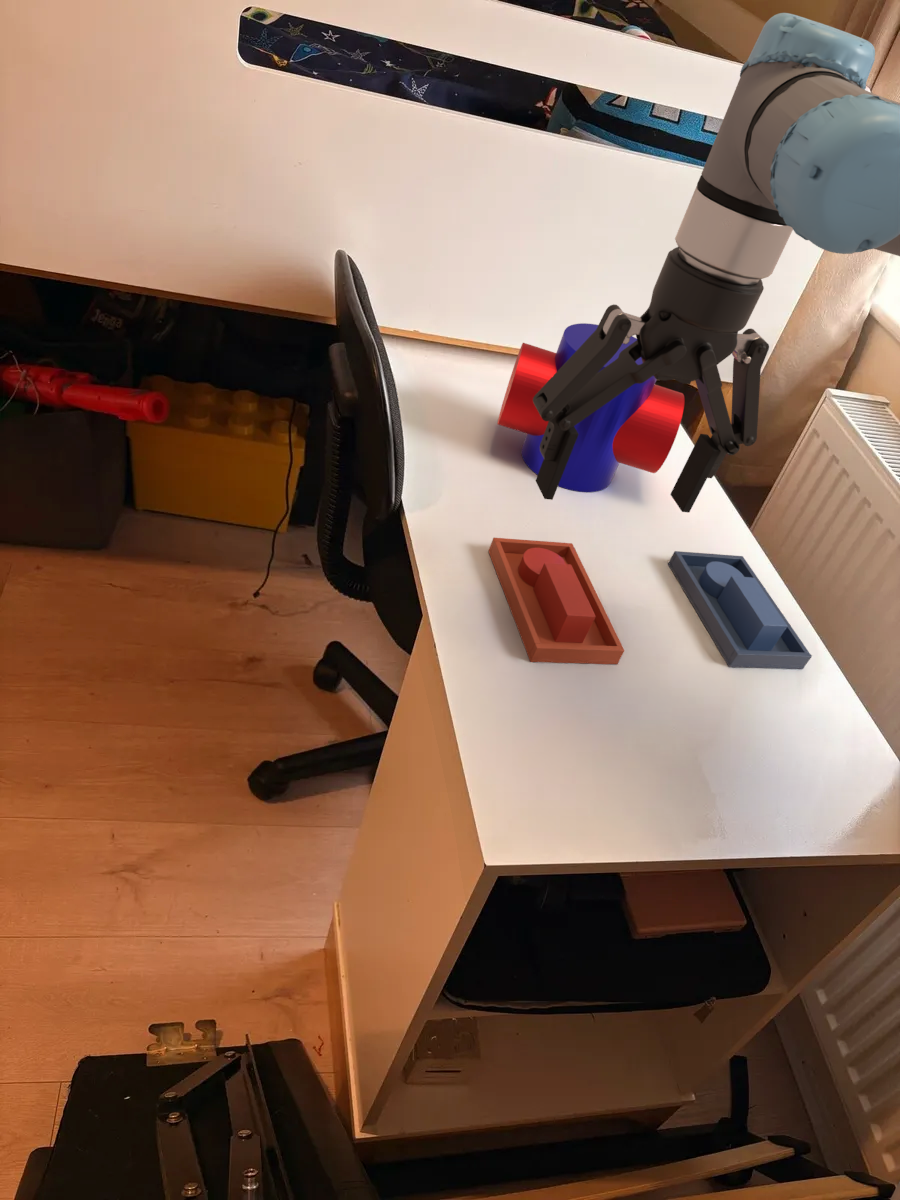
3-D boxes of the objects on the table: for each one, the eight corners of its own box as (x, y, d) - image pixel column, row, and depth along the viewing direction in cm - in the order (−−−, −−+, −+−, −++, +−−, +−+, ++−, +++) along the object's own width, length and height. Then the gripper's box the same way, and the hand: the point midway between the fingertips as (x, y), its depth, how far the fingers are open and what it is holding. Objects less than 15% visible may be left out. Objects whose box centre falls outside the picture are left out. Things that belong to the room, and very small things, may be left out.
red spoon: (591, 643, 87) (604, 616, 85) (546, 641, 86) (558, 614, 83) (554, 561, 96) (565, 535, 94) (512, 559, 94) (523, 532, 92)
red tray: (617, 664, 87) (624, 650, 85) (530, 662, 84) (536, 647, 82) (566, 556, 98) (572, 543, 97) (488, 551, 95) (493, 537, 94)
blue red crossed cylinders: (485, 463, 108) (526, 342, 98) (496, 418, 118) (534, 303, 108) (642, 512, 109) (698, 397, 99) (640, 463, 119) (691, 353, 109)
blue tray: (803, 669, 94) (812, 656, 93) (729, 667, 91) (737, 654, 90) (735, 568, 105) (742, 555, 104) (667, 563, 102) (674, 550, 101)
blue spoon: (778, 651, 94) (795, 626, 92) (740, 649, 93) (756, 624, 91) (728, 574, 103) (742, 550, 101) (692, 571, 102) (706, 547, 99)
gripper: (828, 270, 73) (714, 485, 86) (551, 212, 65) (472, 459, 78) (880, 311, 68) (750, 533, 81) (584, 253, 60) (493, 510, 73)
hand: (613, 497), depth 79 cm, fingers open, 13 cm apart
